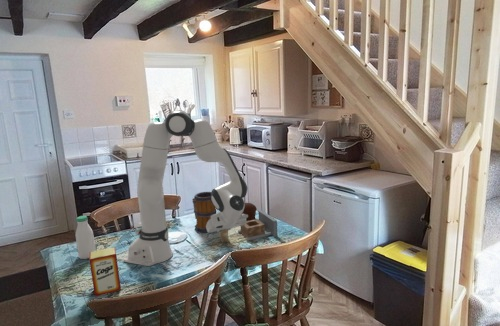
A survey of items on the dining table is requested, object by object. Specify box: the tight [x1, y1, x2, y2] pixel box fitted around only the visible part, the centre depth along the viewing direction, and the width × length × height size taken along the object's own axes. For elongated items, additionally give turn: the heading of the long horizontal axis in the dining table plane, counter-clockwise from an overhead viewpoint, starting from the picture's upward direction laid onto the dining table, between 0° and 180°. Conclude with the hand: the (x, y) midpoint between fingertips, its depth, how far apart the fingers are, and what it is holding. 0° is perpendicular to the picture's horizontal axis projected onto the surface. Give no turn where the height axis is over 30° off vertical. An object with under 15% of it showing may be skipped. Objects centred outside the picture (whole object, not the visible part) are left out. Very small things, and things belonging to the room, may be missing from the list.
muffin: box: [242, 202, 257, 221], centre depth 201 cm, size 12×11×10 cm
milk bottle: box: [75, 215, 97, 260], centre depth 163 cm, size 8×8×20 cm
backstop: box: [237, 209, 278, 241], centre depth 181 cm, size 16×18×9 cm
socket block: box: [240, 218, 266, 239], centre depth 181 cm, size 10×9×6 cm
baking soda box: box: [88, 246, 122, 297], centre depth 135 cm, size 10×6×16 cm
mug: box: [192, 191, 217, 235], centre depth 192 cm, size 19×14×20 cm
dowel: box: [219, 229, 229, 243], centre depth 174 cm, size 4×4×10 cm
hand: (223, 229), depth 174 cm, fingers closed on dowel, 4 cm apart
